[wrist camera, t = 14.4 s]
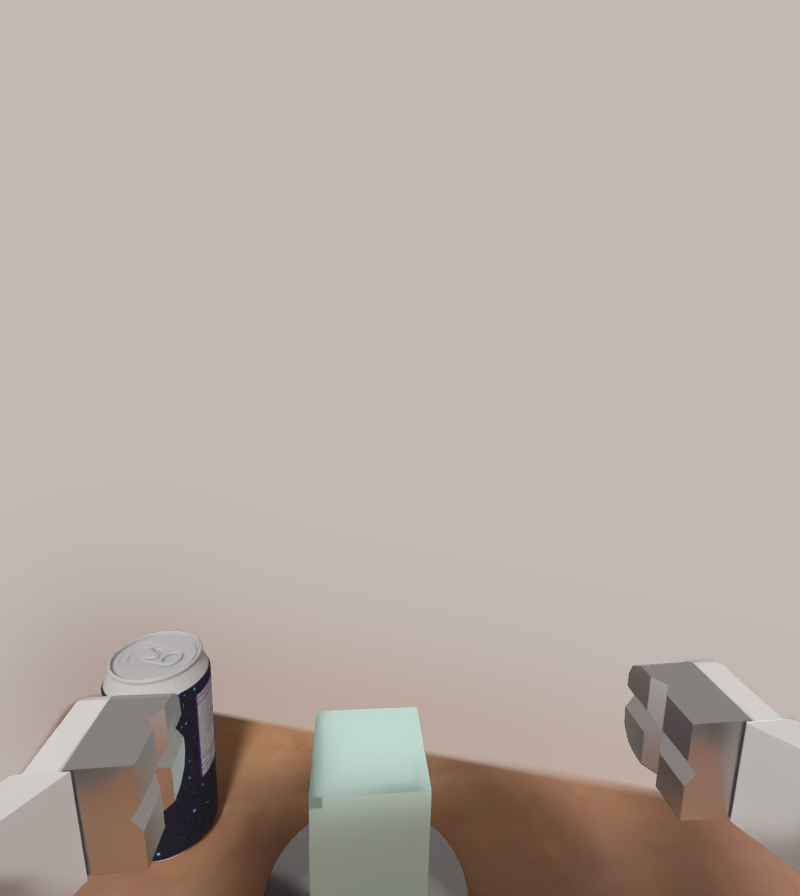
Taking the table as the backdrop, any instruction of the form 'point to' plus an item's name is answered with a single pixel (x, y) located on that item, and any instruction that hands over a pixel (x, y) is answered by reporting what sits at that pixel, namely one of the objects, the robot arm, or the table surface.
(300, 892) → the post
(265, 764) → the table surface
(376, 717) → the mint green lidded box
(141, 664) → the beverage can
